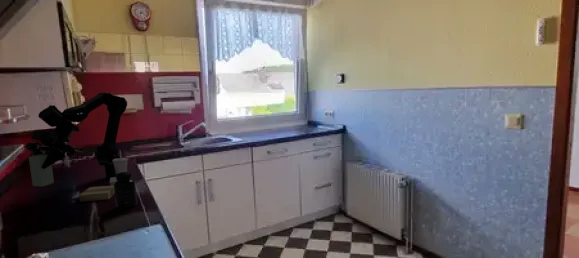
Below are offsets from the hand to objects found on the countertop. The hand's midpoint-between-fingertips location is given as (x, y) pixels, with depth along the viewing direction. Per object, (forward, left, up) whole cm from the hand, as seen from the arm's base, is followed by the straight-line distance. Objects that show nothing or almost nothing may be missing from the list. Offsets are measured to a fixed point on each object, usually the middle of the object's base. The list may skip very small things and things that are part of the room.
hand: (37, 168), depth 122 cm
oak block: (-2, +19, -14) cm, 24 cm away
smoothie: (-25, +21, -14) cm, 36 cm away
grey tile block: (-13, +24, -14) cm, 31 cm away
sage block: (-1, +1, -7) cm, 7 cm away
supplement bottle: (+13, +33, -14) cm, 38 cm away
